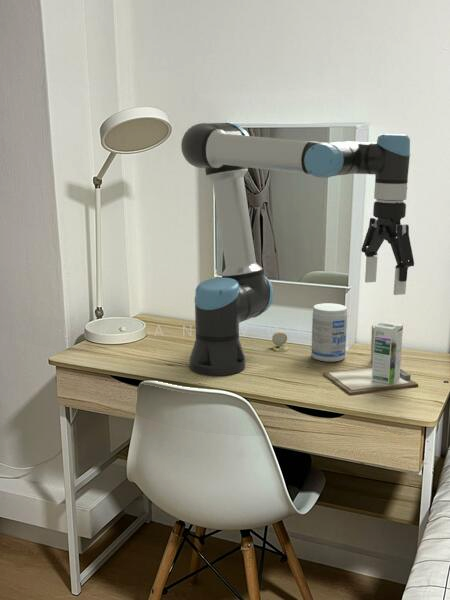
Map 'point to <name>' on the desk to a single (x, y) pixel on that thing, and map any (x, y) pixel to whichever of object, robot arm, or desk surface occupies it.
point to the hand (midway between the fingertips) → (384, 288)
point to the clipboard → (366, 381)
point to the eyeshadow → (279, 342)
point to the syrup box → (387, 352)
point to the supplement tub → (329, 332)
